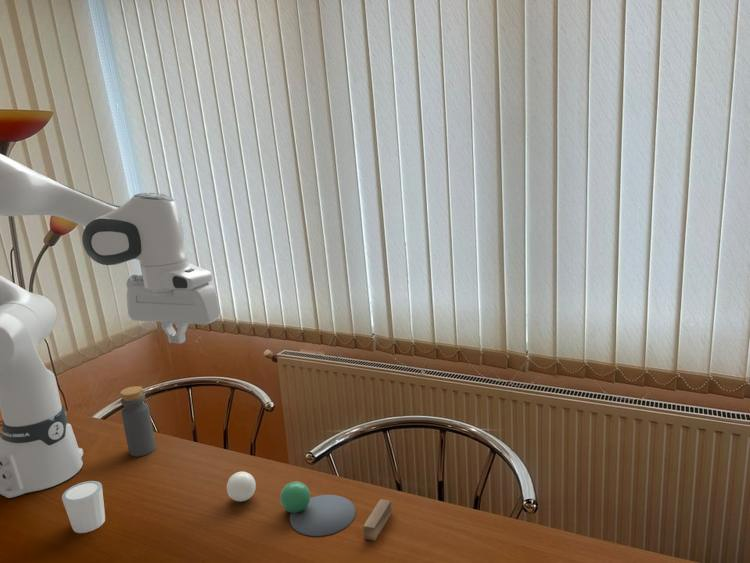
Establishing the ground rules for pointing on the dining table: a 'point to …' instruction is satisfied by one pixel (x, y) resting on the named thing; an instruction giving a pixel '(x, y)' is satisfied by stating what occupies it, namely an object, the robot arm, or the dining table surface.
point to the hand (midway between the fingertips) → (177, 342)
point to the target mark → (323, 516)
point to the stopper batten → (377, 519)
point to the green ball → (295, 497)
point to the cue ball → (241, 486)
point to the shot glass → (85, 506)
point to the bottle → (137, 422)
